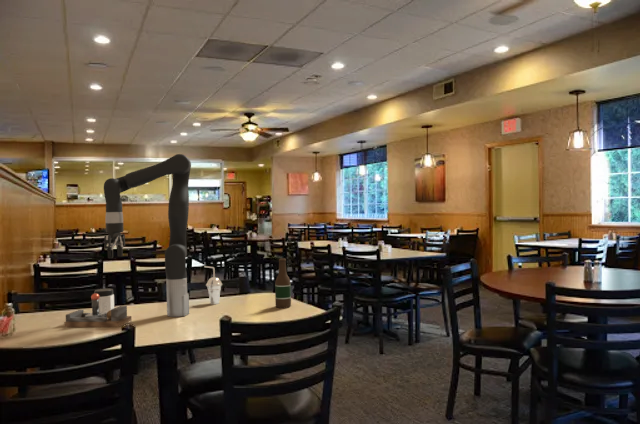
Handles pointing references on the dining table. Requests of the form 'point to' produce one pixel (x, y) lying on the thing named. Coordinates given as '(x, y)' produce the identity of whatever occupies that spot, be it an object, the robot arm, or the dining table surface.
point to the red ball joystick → (96, 307)
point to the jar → (105, 299)
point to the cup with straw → (214, 288)
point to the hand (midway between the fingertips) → (115, 257)
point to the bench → (98, 319)
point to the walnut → (109, 314)
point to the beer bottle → (282, 286)
